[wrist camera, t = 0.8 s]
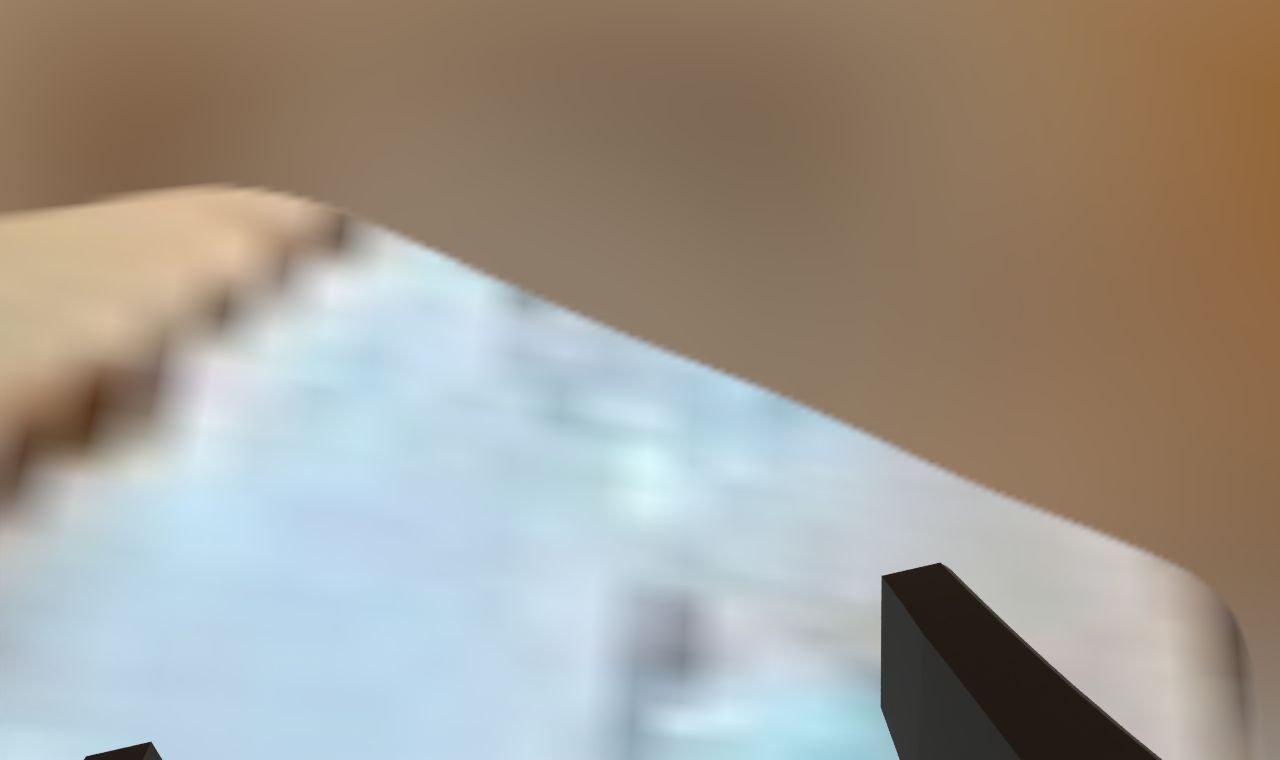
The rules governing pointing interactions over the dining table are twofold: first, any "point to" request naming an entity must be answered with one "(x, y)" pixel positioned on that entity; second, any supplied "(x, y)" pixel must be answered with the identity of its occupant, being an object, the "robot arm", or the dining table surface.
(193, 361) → the dining table surface
